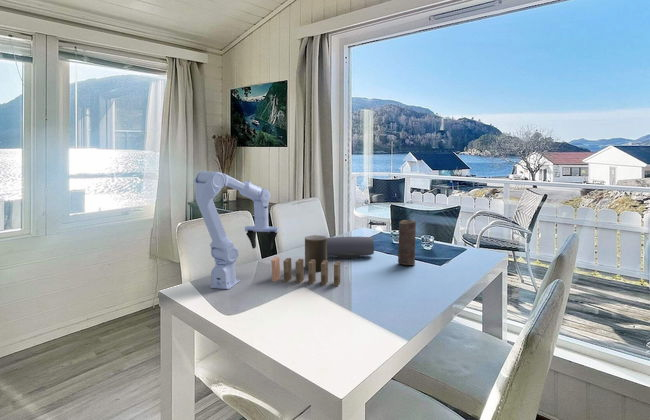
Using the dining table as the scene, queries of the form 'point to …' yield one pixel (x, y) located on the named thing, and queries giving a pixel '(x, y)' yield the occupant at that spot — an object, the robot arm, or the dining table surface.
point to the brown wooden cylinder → (407, 242)
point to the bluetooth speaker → (350, 246)
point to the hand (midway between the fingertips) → (262, 248)
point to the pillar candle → (315, 250)
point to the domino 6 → (337, 273)
